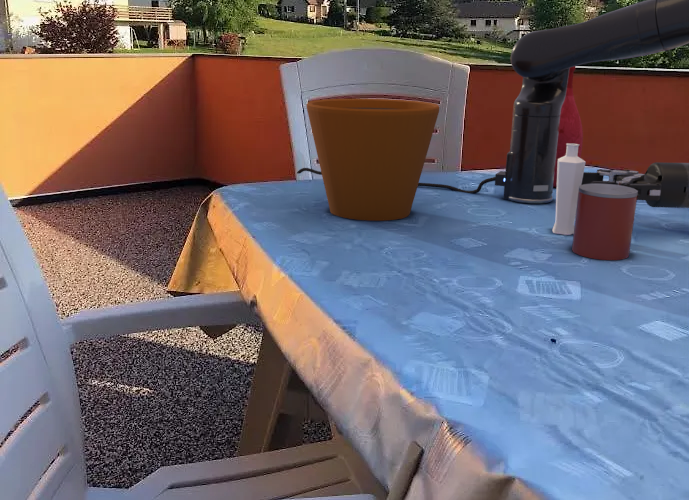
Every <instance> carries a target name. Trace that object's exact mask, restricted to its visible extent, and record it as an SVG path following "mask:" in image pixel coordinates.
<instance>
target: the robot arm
mask: <svg viewBox="0 0 689 500" xmlns="http://www.w3.org/2000/svg"><path fill="white" fill-rule="evenodd" d="M687 44H689V0H642V1H639V2H636V3H633V4H630V5H628V6H625V7H621V8H618V9H616V10H612V11H609V12H607V13H604V14H601V15H599V16H596V17H593V18H591V19H588V20H585V21H582V22H579V23H575V24H574V23H573V24H571V25H566V26H561V27H556V28H550V29H543V30H542V29H541V30H534V31H530V32H528V33H526V34H523V36H522V37H521V38H519V39H518V40H517V41H516V42H515V44H514V46H513V47H512V50H511V52H510V64H511V67H512V69H513V70H514V71H515V73H516V74H517V75H519V76H520V77H522V84H521V88H520V89H521V90H520V91H519V94H518V95H517V97H516V99H515V100H514V102H513V105H512V106H513V107H512V121H511V131H510V132H511V134H510V143H509V144H510V145H509V151H508V152H507V153H506V159H505V160H506V161H505V170H499V172H497V173H495V176H493V177H489V178H485V179H483V180H482V181H480V182H479V184H478V186H477V187H476V189H472V190H466V189H461V188H458V187H455V186H452V185H449V184H441V183H430V182H419V183H418V187H427V188H439V189H447V190H451V191H454V192H459V193H466V194H471V195H472V194H474V195H475V194H479V192H481V190H482V189H483V188H482V187H483V186H484V185H486V184H487V183H491V182H494V186H495V187H496V186H498V187H503V195H502V196H503V197H502V199H503V200H508V201H512V202H516V203H522V204H547V203H551V202H552V201H553V193H554V187H553V182H554V173H555V163H556V153H557V144H558V134H559V124H560V114H561V108H562V105H563V102H564V100H565V96H566V90H567V83H568V76H569V68H571V67H574V66H575V67H578V66H580V65H584V64H588V63H597V62H607V61H616V60H626V59H633V58H639V57H644V56H649V55H653V54H657V53H661V52H665V51H669V50H673V49H676V48H680V47H683V46H685V45H687ZM303 172H309V173H312V174H315V175H320V176H322V173H321V170H320V171H319V170H315V169H313V168H310V167H302V168H300V169H299V170H297V172H296V174H297V175H298V174H302V173H303ZM639 172H640V171H637V170H630V169H625V170H624V169H602V168H599V169H597V170H596V172H595V171H593V172H592V171H590V172H589V171H584V174H583V179H582V184H581V185H583V184H613V185H621V186H626V187H630V188H634V189H636V190H637V191H638V195H637V201H645V203H646V204H647V205H648V206H649V207H651V208H665V209H667V208H669V209H671V208H672V209H689V162H659V161H656V162H652V163H650V165H649V166H648V167H647V169H646V171H645V173H639ZM604 177H608V180H604Z"/></svg>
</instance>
